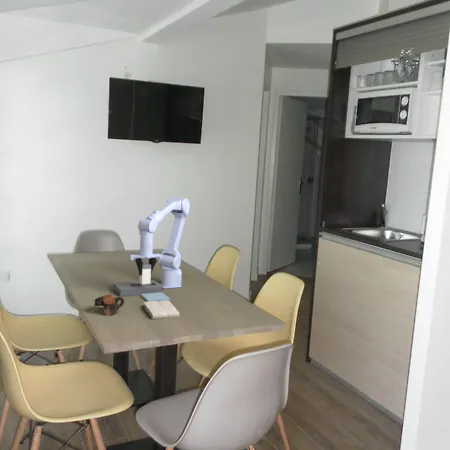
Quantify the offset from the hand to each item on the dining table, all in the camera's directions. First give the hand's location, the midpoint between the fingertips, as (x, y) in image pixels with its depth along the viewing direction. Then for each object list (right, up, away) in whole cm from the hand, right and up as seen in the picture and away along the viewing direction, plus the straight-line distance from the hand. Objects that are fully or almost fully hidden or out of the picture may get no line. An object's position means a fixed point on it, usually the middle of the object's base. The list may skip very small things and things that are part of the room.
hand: (145, 274), depth 226 cm
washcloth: (+10, -14, -21) cm, 27 cm away
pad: (+5, -10, -3) cm, 12 cm away
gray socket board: (-5, -8, +6) cm, 11 cm away
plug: (0, -4, +1) cm, 4 cm away
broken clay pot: (-11, -13, -25) cm, 30 cm away
